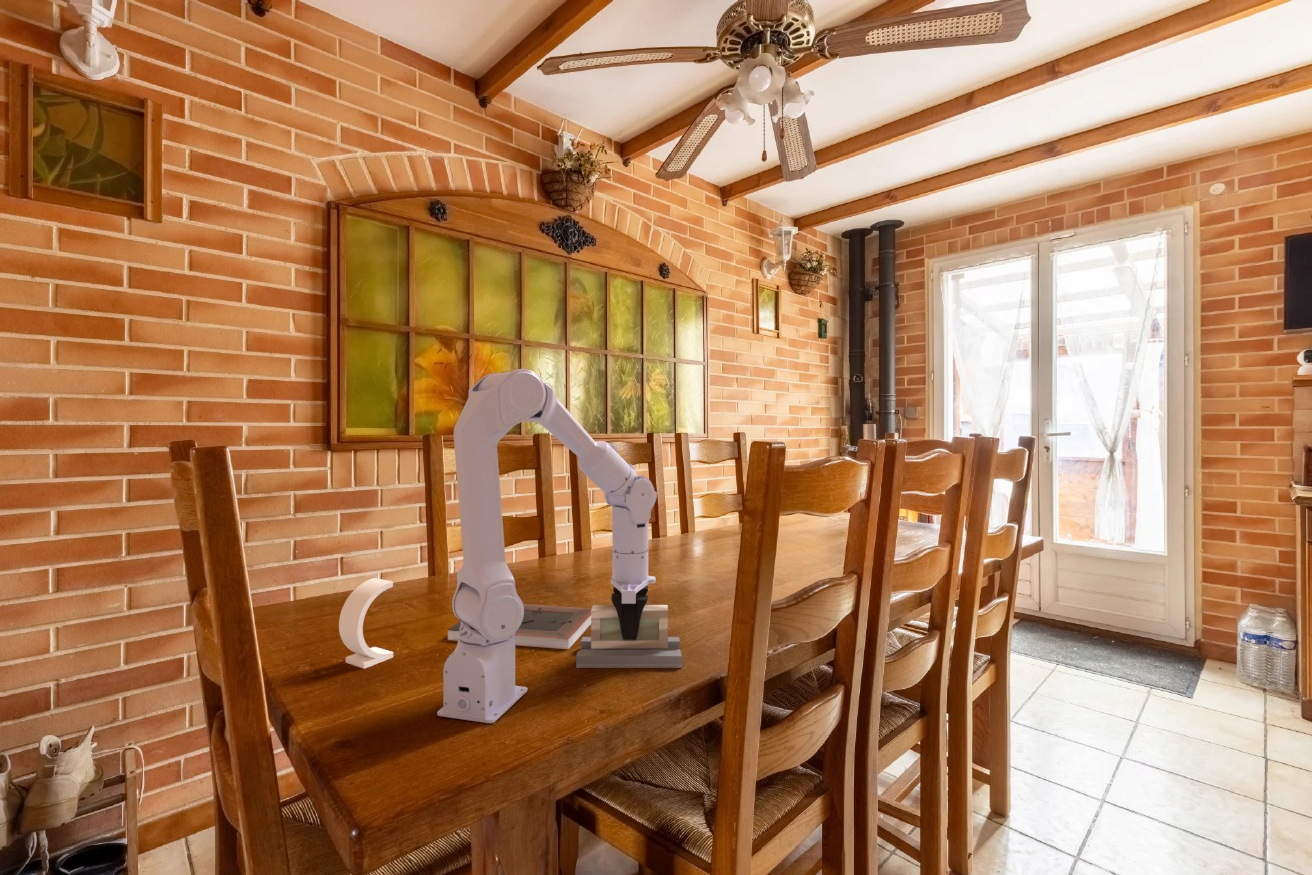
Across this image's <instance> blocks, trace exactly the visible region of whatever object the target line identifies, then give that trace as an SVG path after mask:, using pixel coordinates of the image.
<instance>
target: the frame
mask: <svg viewBox="0 0 1312 875" xmlns="http://www.w3.org/2000/svg"><path fill="white" fill-rule="evenodd" d="M591 608H592V609H591V624H590V627H591V628H590V637H591V649H621V648H668V637H669V607H668V604H645V606H644V608H643V611H642V614H641V618H640V624H639V630H638V635H637V638H636V640H623V637H622V633H621V628H620V622H619V617H618V614H617V611H616V609H615V606H614V605H613V604H612V605H611V604H607V605H603V604H601V605H599V604H595V605H594V604H593V605H592V607H591Z"/></svg>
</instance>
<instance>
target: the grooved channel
mask: <svg viewBox="0 0 1312 875" xmlns="http://www.w3.org/2000/svg"><path fill="white" fill-rule="evenodd" d="M680 648H681V639H680V636H679V637H678V636H668V648H621V649H591V636H582V637H581V640H580V649H579V650H578V651H577V653H576V655H575V656H576V657H575V663H576V664H575V668H576V669H583V668H584V669H592V668H593V669H615V668H616V669H682V667H683V666H682V665H683V664H682V663H683V661H682V660H683V655H682V650H681V649H680Z"/></svg>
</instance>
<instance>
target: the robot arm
mask: <svg viewBox="0 0 1312 875" xmlns="http://www.w3.org/2000/svg"><path fill="white" fill-rule="evenodd" d="M522 422H529V423H534V424H539V425H541V426H542V427H543V428H544V429H545V430H547V431H548V432H549V433H551V435H552V436H554V438H556V439H557V440H558V441H560V442H561V444H563V445H564V446H565V447H566V448H567V449H569V450H570V451H571V452H572V453H573V454H574V455H576V456H577V458H578V459H577V465H578V469H579V471H580V472H582V473H583V474H584V475H585V476H586V477H587V478H588V479H589V480H590V481H591V482H592V483H594V485H596V486H597V487H598V489H600V490H601V491H602V492H603V495H604V500H605V501H606V505H610V506H611V507H612V509H611V510H612V520H611V522H612V523H611V524H612V525H611V526H612V529H611V531H612V536H611V537H612V541H611V543H612V547H611V548H612V549H611V550H612V552H611V554H612V555H611V556H612V557H611V559H612V560H611V562H612V563H611V569H612V570H611V573H612V574H611V577H610V583H611V585H612V586H613V588H612V591H613V592H612V593H611V597H610V599H611V600H610V601H611V602H612V605H614V606H615V609H616V611H617V614H618V617H619V622H620V628H621V633H622V637H623V640H636V638H637V635H638V630H639V624H640V618H641V614H642V611H643V608H644V606H645V605H647V602H648V599H649V596H648V595H647V594H648V592H649V585H651V584H652V585H653V584H654V585H655V584H656V581H657V580H656V576H651V575H649V529H650V528H649V524H650V519H651V518H652V517H651V516H652V514H651V512H652V510H653V507H654V506H655V503H656V501H657V497H658V492H657V491H655V487H654V484H653V483H652V481H651V480H650V479H649V478H648V477H647V476H645V475H642V474H641V475H640V474H637V472H636V467H635V466H634V465H633V464H630V463H627V462H626V460H625V459H624V458H623V457H622V456H621V455H620V454H619V453H618V452H617V450H618V448H617V446H616V445H615V444H614V443H612V442H609V443H608V442H607V441H604V440H597V441H595V440H594V439H593V437H592V436H591V435H590V434H589V433H588V431H587V430H586V429H585V428H584V427H583V426H582V425H581V424H580V423H579V422H578V420H577V419H576V418H575V416H573V415H572V414H571V413H570V411H569V410H568V409H567V407H565V405H564V404H563V403H562V402H561V401H560V399H558V397H557V395H556V393H555V391H554V389H553V388H552V387H551V386H550V385H549V384H547V383H546V382H543V380H542V378H541V377H540V376H539V375H538V374H537V373H536V372H534V371H532V370H531V369H526V368H518V369H516V370H515V369H514V370H511V371H506V372H500V373H498V372H494V373H489V374H486V375H484V376H482V378H480V379H479V380H478V381H477V382H476V383H474V384H473V385H472V386H471V387H470V388H469V389H468V398H467V400H466V402H465V405H464V407H463V408H462V410H461V413H460V414H459V417H458V419H457V421H456V423H455V425H454V428H453V443H454V444H453V446H454V457H455V470H456V481H457V482H456V483H457V493H458V494H457V496H458V506H459V507H458V508H459V509H458V510H459V519H460V520H459V521H460V533H461V544H462V545H461V546H462V548H461V549H462V560H463V564H462V566H461V568H460V569H459V570H458V572H457V573H456V579H457V580H456V589H455V591H454V594H453V596H452V600H451V602H452V603H451V606H452V607H451V608H452V610H453V614H454V615H455V617H456V619H458V620H459V622H460V621H461V626H460V629H459V639H458V641H457V644H456V647H455V649H454V650H453V651H452V653H450V655H449V656H448V657H447V659H446V661H445V663H444V665H443V671H442V672H443V673H442V674H443V675H442V676H443V677H442V680H443V681H442V682H443V683H442V684H443V685H442V688H443V691H442V692H443V693H442V695H443V696H442V699H443V700H442V701H443V703H442V704H443V706H442V707H441V708H440V709H439V710H437V713H436V714H437V716H438V717H444V718H450V719H456V720H457V719H458V720H463V721H464V720H465V721H470V722H471V721H472V722H477V723H479V722H480V723H486V724H493V723H496V721H497V720H498V719H500V718H501V717H502V715H504V714H505V713H506V712H507V711H508V710H509V709H511V707H512V706H513V705H514V704H515V703H517V702H518V700H520V698H522V696H524V695H525V694H526V693H527V692H528V687H526V686H521V685H520V686H519V685H516V645H515V632H516V631H517V630H518V628H519V627H520V625H521V623H522V620H523V616H524V606H523V604H524V603H523V601H522V599H521V598H520V596H519V595H518V593H517V589H516V580H515V578H514V576H513V573H512V571H511V569H510V568H509V566H508V564H507V561H506V548H505V536H504V534H505V533H504V522H503V510H502V509H503V508H502V497H501V483H500V482H501V481H500V469H499V458H498V457H499V456H498V443H499V441H501V440H502V439H503V438H504V437H505V436H506V434H508V433H509V431H510V430H512V429H513V427H514V426H516V425H519V424H520V423H522Z"/></svg>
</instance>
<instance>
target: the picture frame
mask: <svg viewBox="0 0 1312 875" xmlns="http://www.w3.org/2000/svg"><path fill="white" fill-rule="evenodd" d="M523 606H524V616H523V620H522V623H521V625H520V627H519V628H518V630H517V631H516V632H515V646H520V647H521V646H522V647H535V648H548V649H549V648H550V649H561V650H562V649H563V650H569V649H571V647H572V646H573V645H574V643H575V642H576V641H577V640H578V639H579V638H580V637H581V636H582V635H583V634H584V632H585V631H586V630H587V629H588V627H589V626H591V609H592V607H576V606H575V607H574V606H560V605H547V604H545V605H544V604H532V603H529V604H528V603H523ZM460 626H461V621H460V620H459V622H457V623H456V624H454V625H452V626H451V627H450V628H448V629H447V640H448V641H457V642H458V639H459V629H460Z"/></svg>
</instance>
